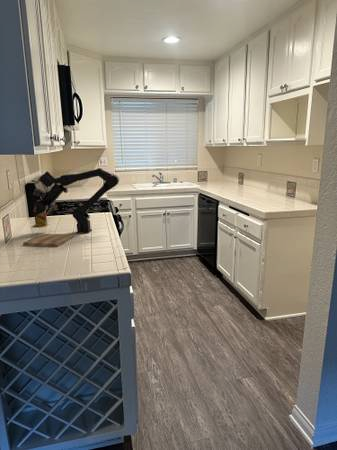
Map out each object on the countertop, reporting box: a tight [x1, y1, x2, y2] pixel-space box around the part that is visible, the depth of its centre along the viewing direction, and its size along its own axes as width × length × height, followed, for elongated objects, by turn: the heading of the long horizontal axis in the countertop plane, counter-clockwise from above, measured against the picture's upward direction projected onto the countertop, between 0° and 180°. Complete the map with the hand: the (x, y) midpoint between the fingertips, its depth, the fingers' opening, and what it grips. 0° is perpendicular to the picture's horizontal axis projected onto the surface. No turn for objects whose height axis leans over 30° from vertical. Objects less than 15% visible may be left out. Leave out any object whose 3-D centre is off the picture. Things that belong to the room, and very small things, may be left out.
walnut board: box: [22, 233, 74, 248], centre depth 157 cm, size 18×16×2 cm
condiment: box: [30, 204, 50, 229], centre depth 169 cm, size 7×8×12 cm
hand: (35, 214), depth 169 cm, fingers closed on condiment, 6 cm apart
